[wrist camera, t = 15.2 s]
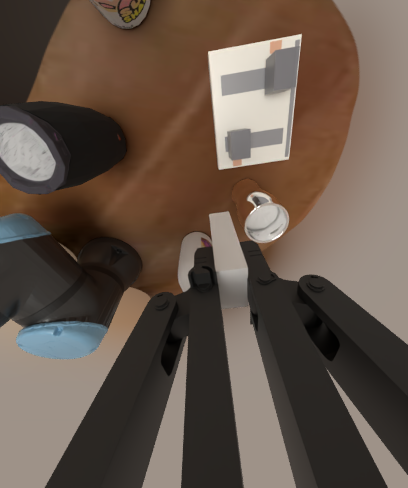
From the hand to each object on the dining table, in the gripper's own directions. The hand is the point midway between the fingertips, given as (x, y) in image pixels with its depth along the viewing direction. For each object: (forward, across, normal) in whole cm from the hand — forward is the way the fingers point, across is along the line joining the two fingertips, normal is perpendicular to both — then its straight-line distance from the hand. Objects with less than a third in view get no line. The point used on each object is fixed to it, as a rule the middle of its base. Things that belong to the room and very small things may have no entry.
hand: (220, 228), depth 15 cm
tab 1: (+24, +5, +3) cm, 24 cm away
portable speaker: (+27, -18, +7) cm, 33 cm away
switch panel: (+26, +8, +8) cm, 29 cm away
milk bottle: (+27, -5, -18) cm, 33 cm away
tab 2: (+24, +12, +12) cm, 29 cm away
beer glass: (+27, +7, -7) cm, 28 cm away
